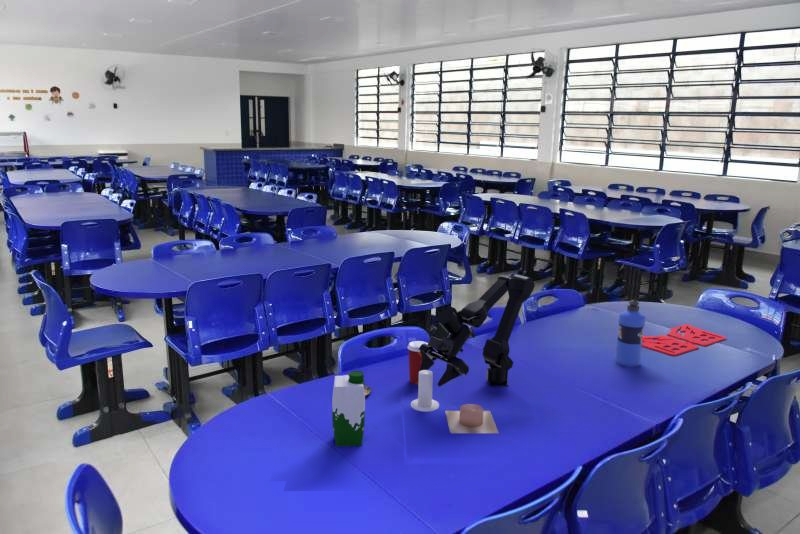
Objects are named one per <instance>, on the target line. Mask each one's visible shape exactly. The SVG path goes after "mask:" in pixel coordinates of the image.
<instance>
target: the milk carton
mask: <svg viewBox="0 0 800 534" xmlns="http://www.w3.org/2000/svg"><path fill="white" fill-rule="evenodd" d="M348 374H349V375H348ZM348 374H344V375H335V376H334V381H333V389H332V396H331V397H332V399H331V402H332V403H331V405H332V406H331V408H332V409H331V410H332V412H331V413H332V415H331V417H332V420H331V421H332V430H333V436H334V442H335V446H336V447H359V446H360V447H361V446H363V439H364V432H365V425H366V424H365V423H366V422H365V421H366V396H365V394H364V384H365V374H364V372H363V371H361V370H352V371H350V372H348Z"/></svg>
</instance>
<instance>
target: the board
mask: <svg viewBox="0 0 800 534" xmlns="http://www.w3.org/2000/svg"><path fill="white" fill-rule="evenodd" d="M445 415H446V421H447V424H448V429H449V433H450V434H499V433H500V432H499V430H498V427H497V425H496V422H495V420H494V416H493V415H492V413H491V410H483V424H482V425H481V426H478V427H467V426H464V425H462V424H461V423H460V422H459V415H460V410H445Z"/></svg>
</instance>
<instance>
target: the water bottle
mask: <svg viewBox="0 0 800 534" xmlns="http://www.w3.org/2000/svg"><path fill="white" fill-rule="evenodd" d="M646 319H647V318H646V315H645V314H643V313H642V312H640V302H639V301H638V300H637V299H630V300H629V301H628V304H627V307H626V310H625V311H621V312H619V314H618V335H617V339H616V347H615V357H614V362H615V363H616V364H617V365H619V366H622V367H627V368H637V367H639V366H640V364H641V357H642V348H643V347H642V337H643V332H644V327H645V325H646Z"/></svg>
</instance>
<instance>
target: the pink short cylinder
mask: <svg viewBox="0 0 800 534" xmlns="http://www.w3.org/2000/svg"><path fill="white" fill-rule="evenodd" d="M459 411H460V415H459V422H460V423H461V424H462V425H464V426H467V427H478V426H481V425H482V424H483V411H484V408H483V407H482V406H481V405H479V404H475V403H474V404H473V403H466V404H462V405H460V407H459Z"/></svg>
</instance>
